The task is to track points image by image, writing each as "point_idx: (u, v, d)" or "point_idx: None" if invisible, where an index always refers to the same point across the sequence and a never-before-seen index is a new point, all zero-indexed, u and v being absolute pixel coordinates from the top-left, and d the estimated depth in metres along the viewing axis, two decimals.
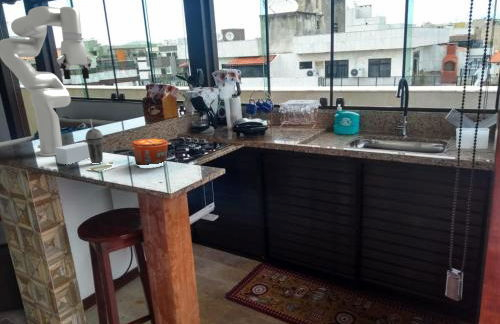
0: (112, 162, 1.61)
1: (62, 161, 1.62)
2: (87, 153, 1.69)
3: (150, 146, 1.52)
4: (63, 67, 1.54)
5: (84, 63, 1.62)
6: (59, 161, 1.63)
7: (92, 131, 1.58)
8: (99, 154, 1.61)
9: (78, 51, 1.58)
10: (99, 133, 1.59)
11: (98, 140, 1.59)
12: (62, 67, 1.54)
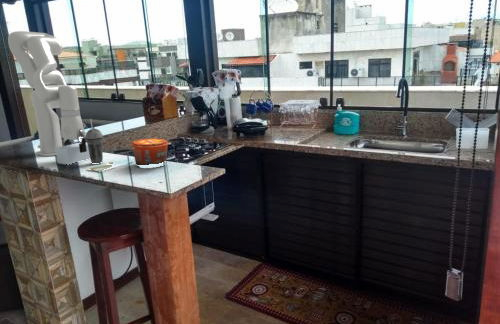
0: (112, 162, 1.61)
1: (63, 161, 1.62)
2: (87, 153, 1.69)
3: (150, 146, 1.52)
4: None
5: None
6: (59, 161, 1.63)
7: (92, 131, 1.58)
8: (99, 154, 1.61)
9: None
10: (99, 133, 1.59)
11: (98, 140, 1.59)
12: (84, 141, 1.62)
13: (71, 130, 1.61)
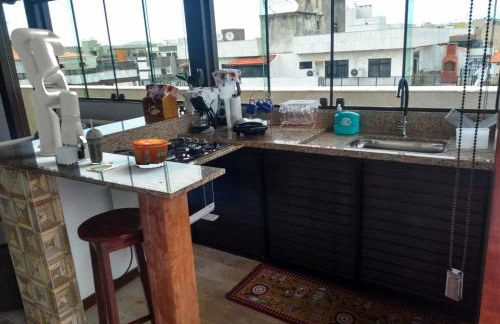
0: (112, 162, 1.61)
1: (63, 161, 1.62)
2: (87, 153, 1.69)
3: (150, 146, 1.52)
4: (84, 148, 1.65)
5: None
6: (59, 161, 1.63)
7: (92, 131, 1.58)
8: (99, 154, 1.61)
9: None
10: (99, 133, 1.59)
11: (98, 140, 1.59)
12: (83, 148, 1.64)
13: (71, 136, 1.61)
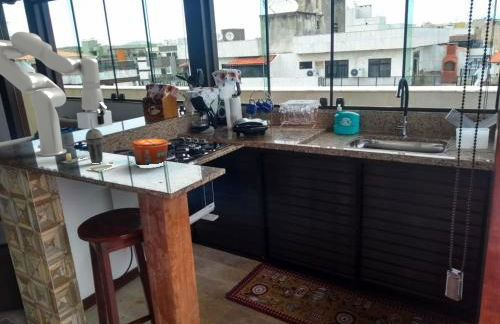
0: (112, 162, 1.61)
1: (83, 126, 1.69)
2: (106, 119, 1.77)
3: (150, 146, 1.52)
4: (104, 113, 1.72)
5: None
6: (80, 126, 1.70)
7: (92, 131, 1.58)
8: (99, 154, 1.61)
9: None
10: (99, 133, 1.59)
11: (98, 140, 1.59)
12: (103, 114, 1.72)
13: (92, 101, 1.69)
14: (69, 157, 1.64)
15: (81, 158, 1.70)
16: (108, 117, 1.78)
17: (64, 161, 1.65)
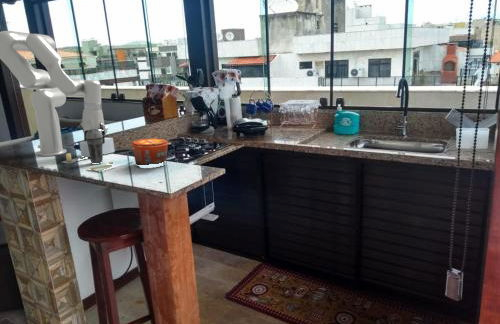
0: (112, 162, 1.61)
1: (86, 155, 1.73)
2: (108, 147, 1.80)
3: (150, 146, 1.52)
4: (105, 134, 1.74)
5: None
6: (83, 155, 1.74)
7: (92, 131, 1.58)
8: (99, 154, 1.61)
9: None
10: (99, 133, 1.59)
11: (98, 140, 1.59)
12: (104, 134, 1.74)
13: (92, 122, 1.72)
14: (69, 157, 1.64)
15: (81, 158, 1.70)
16: (110, 144, 1.81)
17: (64, 161, 1.65)
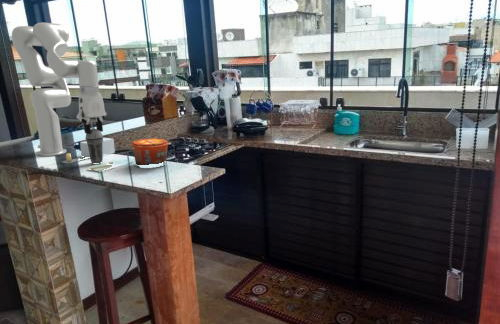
0: (112, 162, 1.61)
1: (86, 155, 1.73)
2: (109, 148, 1.80)
3: (150, 146, 1.52)
4: None
5: None
6: (83, 155, 1.74)
7: (92, 131, 1.58)
8: (99, 154, 1.61)
9: None
10: (99, 133, 1.59)
11: (98, 140, 1.59)
12: None
13: (100, 106, 1.58)
14: (69, 157, 1.64)
15: (81, 158, 1.70)
16: (111, 145, 1.81)
17: (64, 161, 1.65)
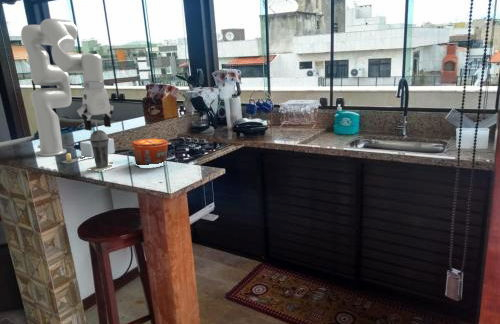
0: (112, 162, 1.61)
1: (86, 155, 1.73)
2: (109, 148, 1.80)
3: (150, 146, 1.52)
4: None
5: None
6: (83, 155, 1.74)
7: (97, 133, 1.49)
8: (104, 157, 1.52)
9: None
10: (105, 135, 1.50)
11: (103, 142, 1.50)
12: None
13: (105, 103, 1.49)
14: (69, 157, 1.64)
15: (81, 158, 1.70)
16: (111, 145, 1.81)
17: (64, 161, 1.65)
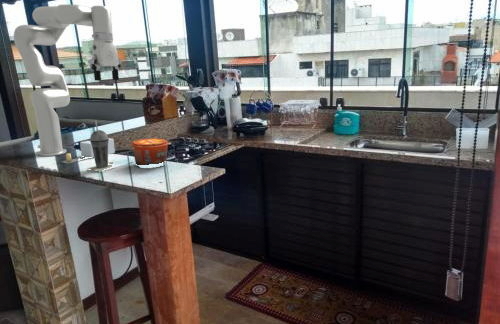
0: (112, 162, 1.61)
1: (86, 155, 1.73)
2: (109, 148, 1.80)
3: (150, 146, 1.52)
4: None
5: None
6: (83, 155, 1.74)
7: (97, 133, 1.49)
8: (104, 157, 1.52)
9: None
10: (105, 135, 1.50)
11: (103, 142, 1.50)
12: None
13: (114, 55, 1.55)
14: (69, 157, 1.64)
15: (81, 158, 1.70)
16: (111, 145, 1.81)
17: (64, 161, 1.65)
